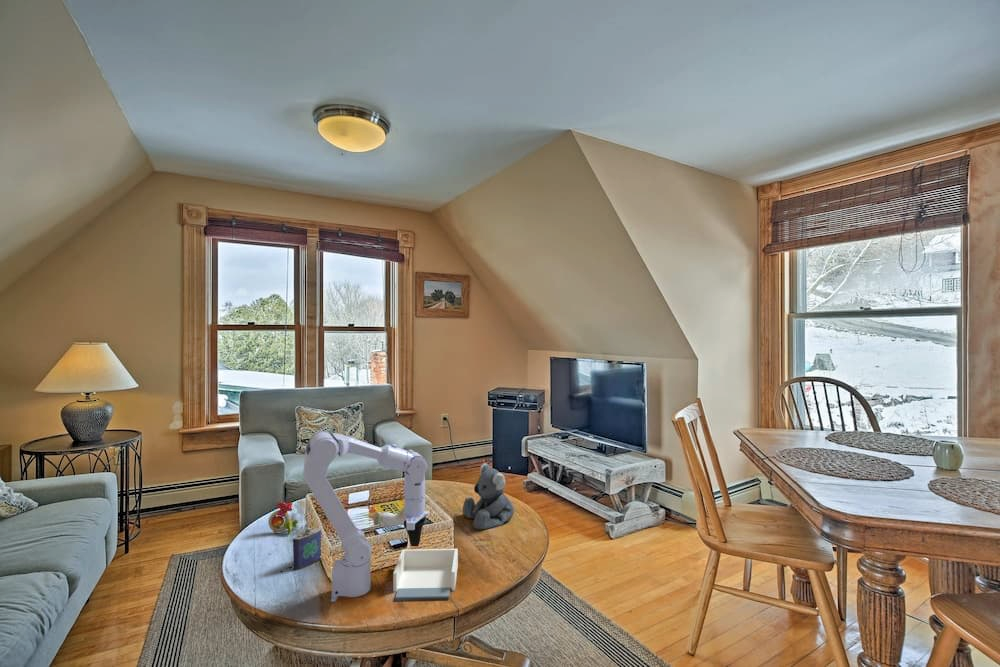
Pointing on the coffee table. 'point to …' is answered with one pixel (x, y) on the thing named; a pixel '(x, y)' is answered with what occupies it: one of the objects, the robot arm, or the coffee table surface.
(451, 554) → the white cubby shelf
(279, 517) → the bird rattle
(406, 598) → the door panel
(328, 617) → the coffee table surface
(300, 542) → the flask
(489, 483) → the koala plush
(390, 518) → the unicorn figurine
